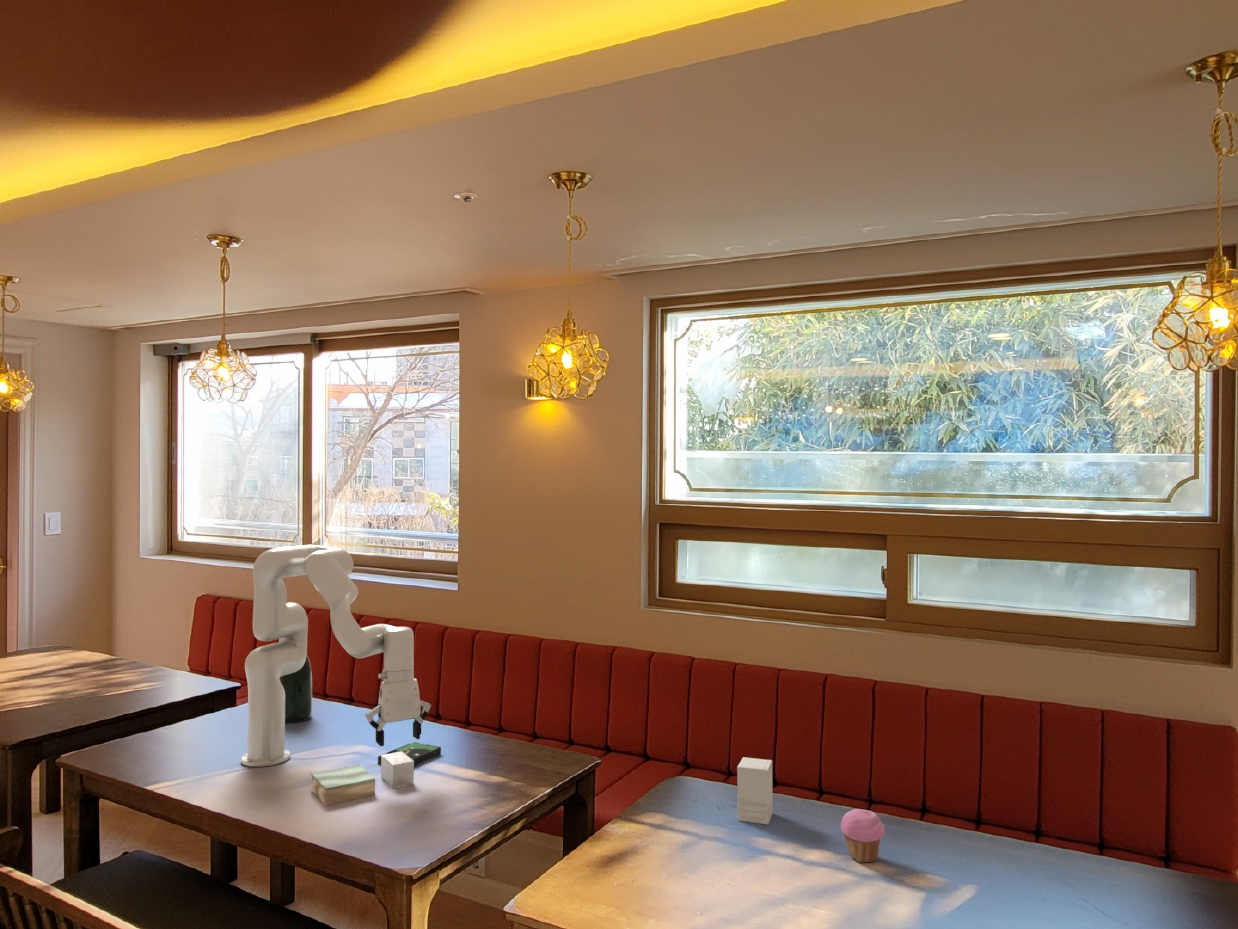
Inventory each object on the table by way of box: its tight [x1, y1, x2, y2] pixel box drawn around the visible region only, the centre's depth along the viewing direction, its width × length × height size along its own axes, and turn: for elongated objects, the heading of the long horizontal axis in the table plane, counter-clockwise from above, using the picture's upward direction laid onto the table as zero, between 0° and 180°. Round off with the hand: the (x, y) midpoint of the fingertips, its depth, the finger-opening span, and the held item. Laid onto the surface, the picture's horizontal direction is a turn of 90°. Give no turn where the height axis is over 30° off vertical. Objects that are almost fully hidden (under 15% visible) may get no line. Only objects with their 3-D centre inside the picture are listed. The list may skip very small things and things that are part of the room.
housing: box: [380, 751, 415, 789], centre depth 214 cm, size 9×6×6 cm, turn 35°
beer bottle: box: [279, 654, 313, 724], centre depth 268 cm, size 10×10×33 cm
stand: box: [311, 764, 376, 806], centre depth 206 cm, size 12×12×4 cm
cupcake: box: [840, 808, 886, 863], centre depth 172 cm, size 9×9×10 cm
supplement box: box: [736, 756, 774, 825], centre depth 193 cm, size 7×7×13 cm
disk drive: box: [377, 741, 442, 767], centre depth 230 cm, size 10×3×15 cm
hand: (398, 741), depth 214 cm, fingers open, 9 cm apart
